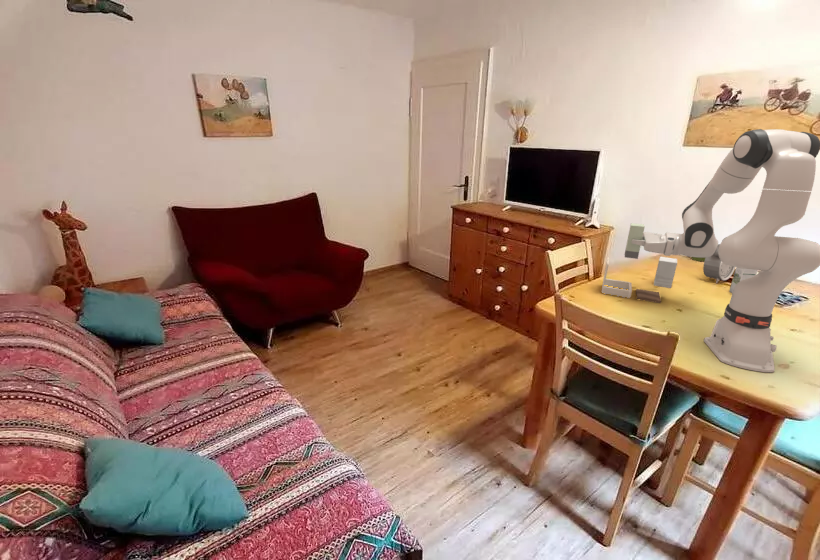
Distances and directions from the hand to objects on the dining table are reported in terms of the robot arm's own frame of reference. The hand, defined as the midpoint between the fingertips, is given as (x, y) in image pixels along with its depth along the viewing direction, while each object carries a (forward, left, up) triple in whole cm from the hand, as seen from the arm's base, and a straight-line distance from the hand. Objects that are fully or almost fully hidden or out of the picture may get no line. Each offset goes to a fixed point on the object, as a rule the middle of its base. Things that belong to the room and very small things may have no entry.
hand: (631, 239), depth 175 cm
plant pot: (+74, -40, -25) cm, 88 cm away
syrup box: (+22, -48, -25) cm, 59 cm away
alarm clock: (+39, -42, -25) cm, 63 cm away
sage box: (0, -1, -7) cm, 8 cm away
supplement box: (+20, -18, -25) cm, 37 cm away
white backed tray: (0, +2, -25) cm, 25 cm away
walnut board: (0, -11, -25) cm, 27 cm away
